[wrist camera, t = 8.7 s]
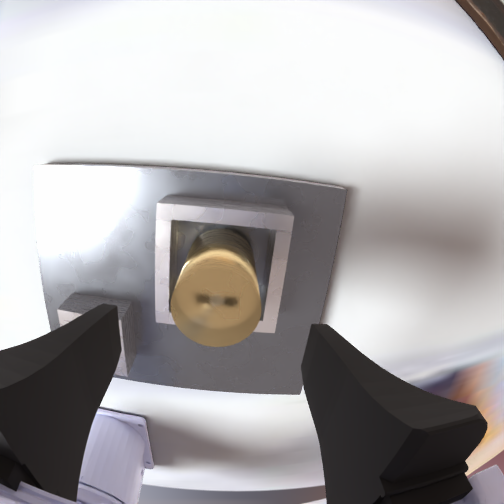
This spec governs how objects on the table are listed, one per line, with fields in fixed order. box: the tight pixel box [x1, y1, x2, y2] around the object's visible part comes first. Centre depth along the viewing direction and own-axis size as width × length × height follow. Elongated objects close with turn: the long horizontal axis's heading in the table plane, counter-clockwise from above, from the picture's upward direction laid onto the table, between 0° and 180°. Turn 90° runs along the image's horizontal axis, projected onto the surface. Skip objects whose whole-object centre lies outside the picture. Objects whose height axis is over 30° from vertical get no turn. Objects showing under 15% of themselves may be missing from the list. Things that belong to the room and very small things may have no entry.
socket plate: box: [34, 164, 347, 395], centre depth 20 cm, size 16×20×4 cm
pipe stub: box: [171, 229, 261, 347], centre depth 17 cm, size 4×4×6 cm
